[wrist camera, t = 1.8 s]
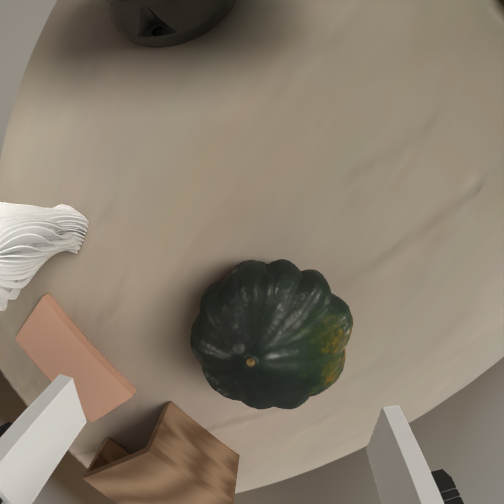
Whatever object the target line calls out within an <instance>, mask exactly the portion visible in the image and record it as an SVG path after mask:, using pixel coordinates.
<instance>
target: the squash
mask: <svg viewBox="0 0 504 504" xmlns="http://www.w3.org/2000/svg"><path fill="white" fill-rule="evenodd" d="M352 326H353V317H352V315H351V313H350V309H349V307H348V305H347V304H346V303H345V302H344V301H343V300H342V299H340V298H339V297H337V296H336V295H334V294H332V293H331V290H330V287H329V285H328V282H327V281H326V279H325V278H324V276H323V275H322V274H321V273H320V272H318V271H316V270H304V271H300V270H299V269H298V268H297V267H296V266H295V265H294V264H293V263H291V262H290V261H287V260H284V259H280V260H276V261H273V262H271V263H269V264H265V263H263V262H261V261H256V260H247V261H243V262H241V263H240V264H238V265H237V266H236V267H235V268H234V269H233V271H232V272H231V273H230V274H229V275H228V276H227V277H226V279H224V280H221V281H219V282H216V283H214V284H212V285H210V286H209V287H208V288H207V290H206V291H205V293H204V295H203V297H202V299H201V303H200V314H199V315H198V316H197V318H196V320H195V322H194V324H193V326H192V329H191V348H192V351H193V353H194V355H195V356H196V357H197V359H198V361H199V362H200V363H201V365H202V368H203V373H204V375H205V377H206V380H207V381H208V383H209V384H210V386H211V387H212V388H213V389H214V390H215V391H217V392H219V393H220V394H221V395H223V396H224V397H227V398H230V399H232V400H238V401H242V402H243V403H244V404H246V405H248V406H250V407H253V408H256V409H267V408H271V407H278V408H283V409H294V408H297V407H299V406H300V405H302V404H303V403H304V402H305V401H306V400H307V399H308V398H309V397H310V396H315V395H317V394H320V393H321V392H323V391H324V390H326V389H327V388H329V387H330V386H331V385H332V384H334V383H335V382H336V381H337V379H338V378H339V376H340V374H341V372H342V370H343V367H344V362H345V347H346V345H347V343H348V340H349V338H350V335H351V332H352Z"/></svg>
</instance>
